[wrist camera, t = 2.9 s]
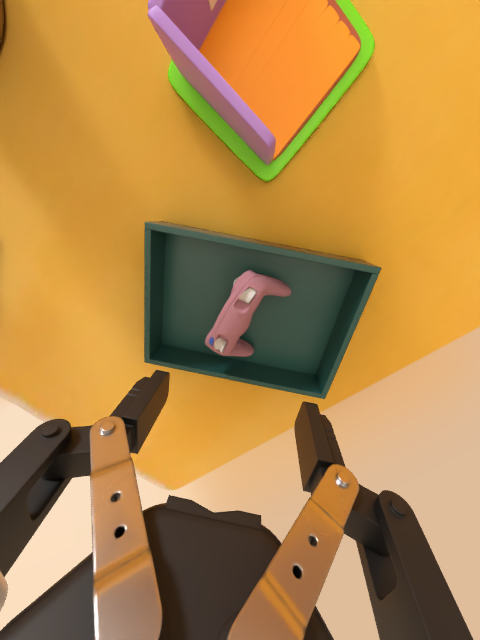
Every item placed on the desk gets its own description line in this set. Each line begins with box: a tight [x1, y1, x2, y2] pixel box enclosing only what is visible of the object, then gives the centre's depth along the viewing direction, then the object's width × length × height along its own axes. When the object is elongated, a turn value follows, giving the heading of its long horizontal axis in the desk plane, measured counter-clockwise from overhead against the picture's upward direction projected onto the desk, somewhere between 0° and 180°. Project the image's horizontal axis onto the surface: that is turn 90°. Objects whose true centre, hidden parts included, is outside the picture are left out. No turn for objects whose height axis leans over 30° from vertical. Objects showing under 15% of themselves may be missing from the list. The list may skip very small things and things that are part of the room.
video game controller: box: [205, 270, 291, 357], centre depth 24 cm, size 10×5×7 cm, turn 153°
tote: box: [144, 221, 381, 399], centre depth 25 cm, size 15×21×4 cm
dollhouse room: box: [148, 0, 375, 182], centre depth 15 cm, size 12×12×7 cm
